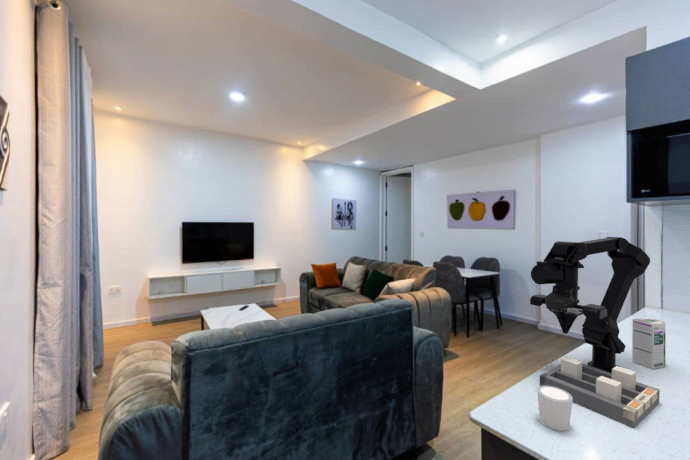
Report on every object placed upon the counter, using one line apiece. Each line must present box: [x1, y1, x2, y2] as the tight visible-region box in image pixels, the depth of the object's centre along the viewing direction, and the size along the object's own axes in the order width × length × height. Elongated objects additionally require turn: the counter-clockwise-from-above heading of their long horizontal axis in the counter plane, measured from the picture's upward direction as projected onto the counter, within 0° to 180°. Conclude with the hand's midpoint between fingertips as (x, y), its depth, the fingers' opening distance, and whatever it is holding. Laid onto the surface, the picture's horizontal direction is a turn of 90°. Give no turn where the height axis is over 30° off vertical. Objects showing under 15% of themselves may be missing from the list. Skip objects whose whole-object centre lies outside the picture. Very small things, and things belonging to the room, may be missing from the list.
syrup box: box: [631, 316, 666, 370], centre depth 100 cm, size 6×6×14 cm
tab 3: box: [612, 365, 637, 391], centre depth 82 cm, size 3×4×5 cm
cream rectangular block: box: [596, 376, 622, 403], centre depth 76 cm, size 3×4×5 cm
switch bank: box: [539, 363, 661, 429], centre depth 83 cm, size 18×20×4 cm
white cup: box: [536, 385, 573, 432], centre depth 71 cm, size 7×7×7 cm
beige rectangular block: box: [560, 356, 583, 379], centre depth 88 cm, size 3×4×5 cm
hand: (565, 333), depth 95 cm, fingers closed
